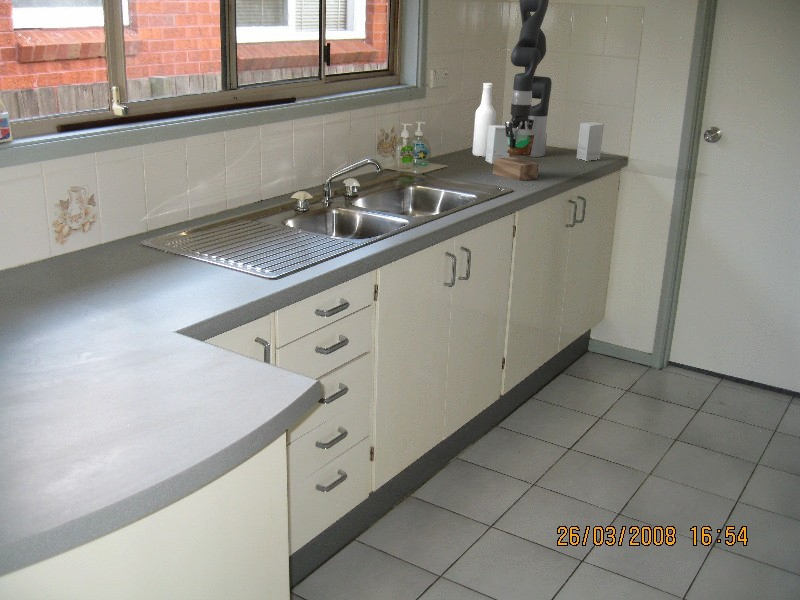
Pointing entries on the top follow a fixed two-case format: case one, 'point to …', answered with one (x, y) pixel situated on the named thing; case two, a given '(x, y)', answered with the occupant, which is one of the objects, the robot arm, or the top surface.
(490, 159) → the skincare box
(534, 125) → the robot arm
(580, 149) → the skincare box
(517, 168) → the walnut block
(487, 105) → the alcohol
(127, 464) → the top surface
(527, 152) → the food container
